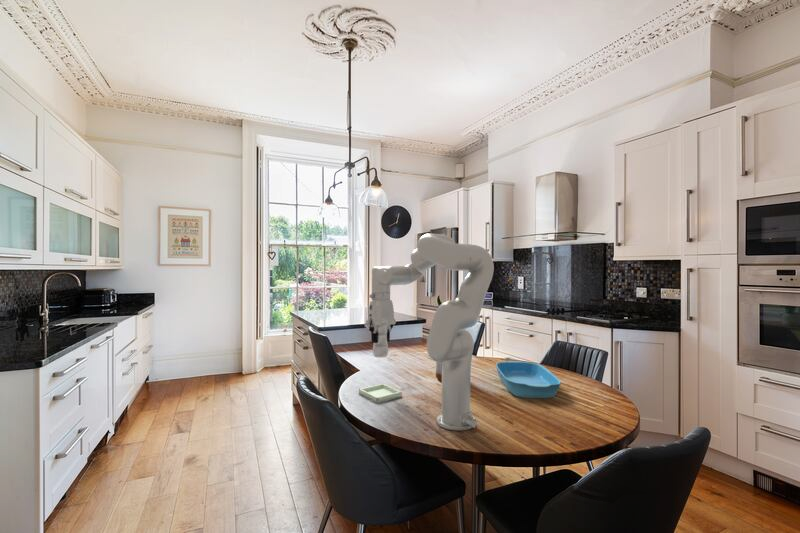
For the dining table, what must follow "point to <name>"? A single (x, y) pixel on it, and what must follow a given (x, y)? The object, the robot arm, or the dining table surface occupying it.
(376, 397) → the tray
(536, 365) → the casserole dish
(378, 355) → the plastic bottle
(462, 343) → the robot arm
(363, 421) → the dining table surface
